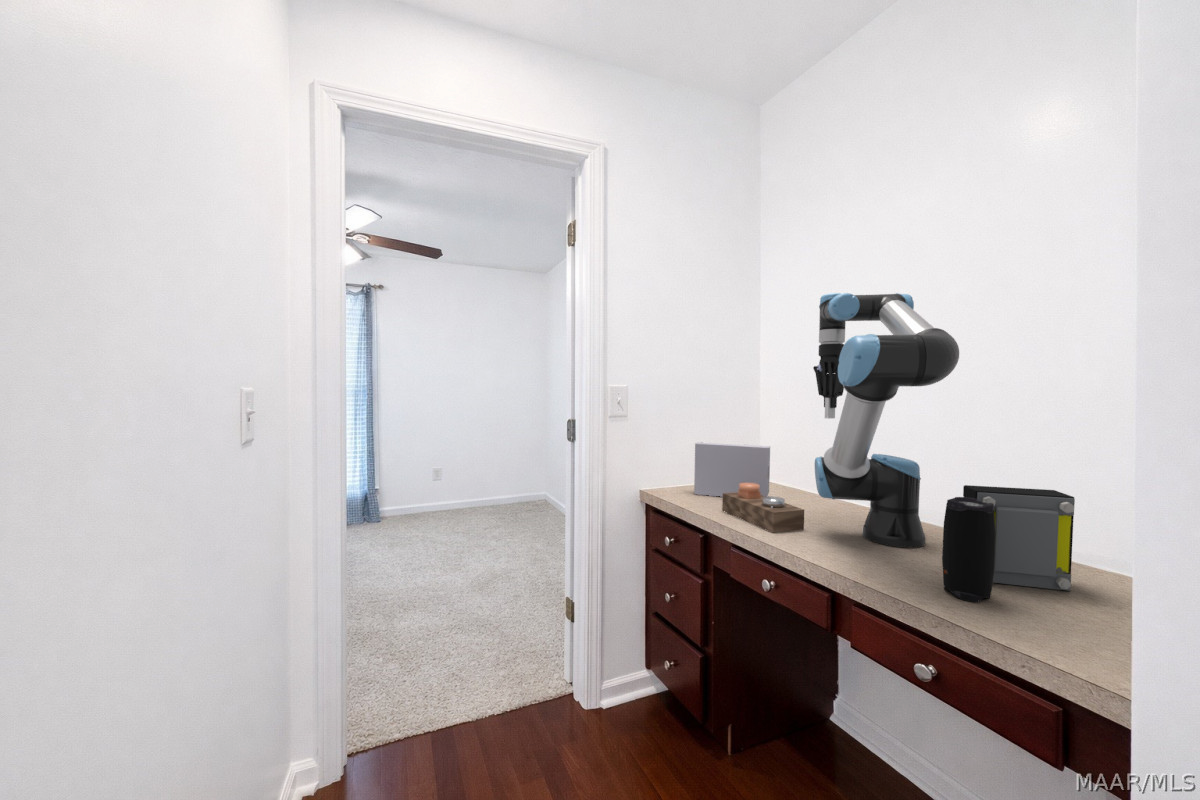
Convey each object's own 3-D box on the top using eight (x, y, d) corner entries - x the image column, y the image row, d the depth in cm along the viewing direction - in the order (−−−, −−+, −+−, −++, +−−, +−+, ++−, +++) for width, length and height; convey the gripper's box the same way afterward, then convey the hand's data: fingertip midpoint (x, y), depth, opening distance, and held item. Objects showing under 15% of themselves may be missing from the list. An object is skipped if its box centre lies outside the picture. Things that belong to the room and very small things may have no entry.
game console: (696, 491, 196) (697, 441, 196) (769, 498, 186) (770, 445, 185) (693, 494, 191) (694, 443, 190) (768, 501, 181) (769, 447, 180)
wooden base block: (803, 529, 146) (804, 509, 146) (773, 533, 143) (773, 512, 142) (749, 508, 171) (750, 491, 171) (722, 510, 167) (722, 493, 167)
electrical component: (976, 584, 107) (980, 493, 107) (957, 567, 117) (961, 483, 117) (1076, 595, 102) (1081, 499, 102) (1048, 576, 112) (1052, 489, 111)
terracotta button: (763, 503, 160) (763, 485, 160) (746, 505, 158) (747, 487, 158) (751, 499, 166) (751, 482, 166) (734, 500, 164) (735, 483, 164)
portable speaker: (946, 599, 100) (949, 503, 99) (937, 582, 108) (940, 494, 107) (999, 608, 96) (1002, 508, 95) (986, 590, 104) (989, 498, 104)
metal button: (788, 519, 149) (789, 500, 149) (771, 521, 147) (771, 501, 147) (774, 514, 155) (775, 495, 155) (757, 515, 153) (758, 497, 153)
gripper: (857, 342, 151) (855, 419, 152) (825, 345, 164) (823, 416, 164) (838, 341, 149) (836, 420, 150) (807, 344, 161) (805, 417, 162)
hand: (829, 418), depth 157 cm, fingers closed
